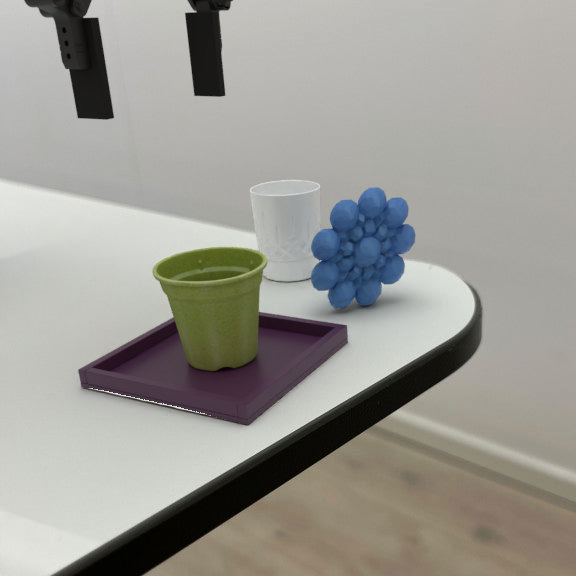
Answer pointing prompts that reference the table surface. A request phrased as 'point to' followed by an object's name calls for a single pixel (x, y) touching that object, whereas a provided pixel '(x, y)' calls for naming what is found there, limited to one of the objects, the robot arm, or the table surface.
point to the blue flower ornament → (362, 248)
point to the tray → (224, 382)
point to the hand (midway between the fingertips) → (158, 106)
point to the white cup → (287, 226)
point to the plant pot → (215, 303)
